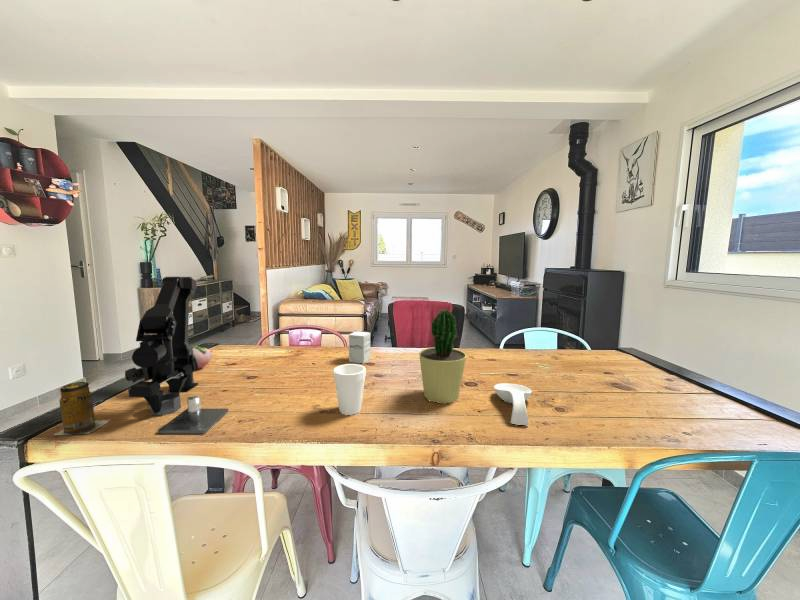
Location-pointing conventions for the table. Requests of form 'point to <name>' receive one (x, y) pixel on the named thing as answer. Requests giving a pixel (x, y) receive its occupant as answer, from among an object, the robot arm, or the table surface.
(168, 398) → the octagonal metal collar
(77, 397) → the condiment
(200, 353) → the decorative fruit
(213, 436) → the table surface
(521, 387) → the spoon rest
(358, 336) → the supplement box
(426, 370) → the potted cactus
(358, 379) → the foam cup
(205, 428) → the piston post
